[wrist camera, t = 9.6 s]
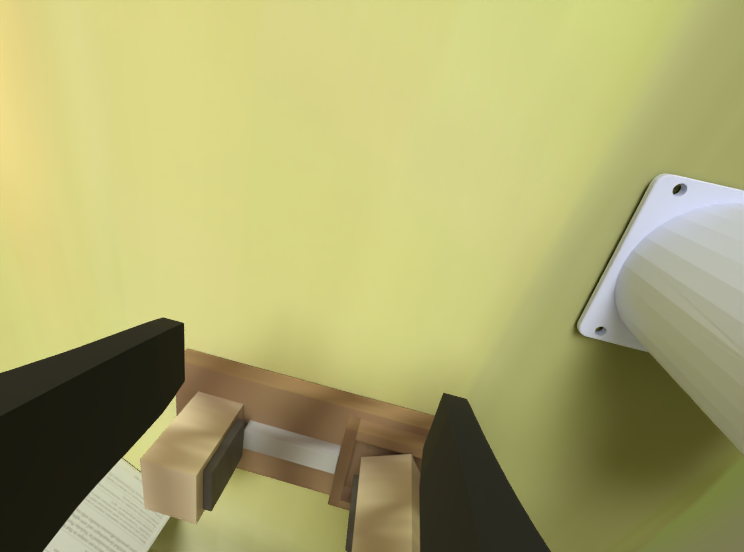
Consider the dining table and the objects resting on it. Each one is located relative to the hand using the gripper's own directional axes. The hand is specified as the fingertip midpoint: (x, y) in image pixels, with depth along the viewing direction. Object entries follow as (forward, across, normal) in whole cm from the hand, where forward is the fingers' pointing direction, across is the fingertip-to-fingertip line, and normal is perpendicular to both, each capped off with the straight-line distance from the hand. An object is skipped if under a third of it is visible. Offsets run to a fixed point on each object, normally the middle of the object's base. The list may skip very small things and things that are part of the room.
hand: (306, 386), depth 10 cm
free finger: (+8, -4, +12) cm, 16 cm away
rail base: (+10, +1, +13) cm, 16 cm away
